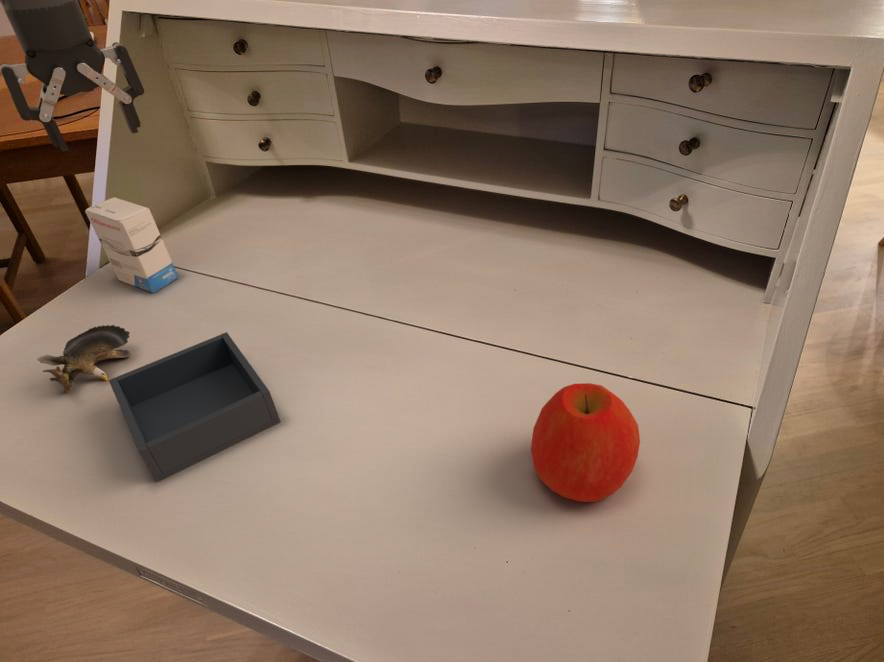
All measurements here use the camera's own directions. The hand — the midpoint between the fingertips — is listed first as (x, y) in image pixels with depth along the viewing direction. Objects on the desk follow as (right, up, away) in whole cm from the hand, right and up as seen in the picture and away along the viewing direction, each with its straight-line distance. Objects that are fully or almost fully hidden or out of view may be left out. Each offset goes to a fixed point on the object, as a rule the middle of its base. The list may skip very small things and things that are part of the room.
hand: (100, 140), depth 83 cm
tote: (+18, -35, -10) cm, 40 cm away
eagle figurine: (+2, -31, -3) cm, 31 cm away
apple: (+60, -40, -19) cm, 74 cm away
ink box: (-1, -17, +14) cm, 21 cm away
